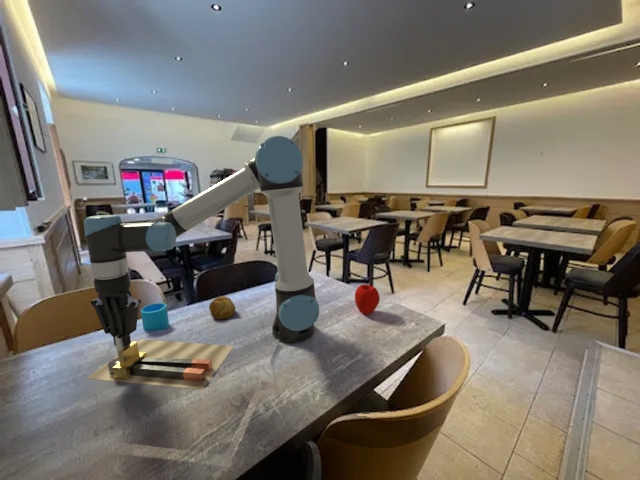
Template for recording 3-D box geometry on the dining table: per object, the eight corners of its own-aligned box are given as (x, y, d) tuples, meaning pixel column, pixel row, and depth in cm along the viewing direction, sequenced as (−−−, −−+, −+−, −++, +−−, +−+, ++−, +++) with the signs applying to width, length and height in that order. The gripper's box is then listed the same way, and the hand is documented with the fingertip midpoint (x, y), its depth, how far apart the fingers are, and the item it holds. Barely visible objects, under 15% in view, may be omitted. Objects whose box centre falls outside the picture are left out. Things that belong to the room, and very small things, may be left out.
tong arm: (212, 367, 78) (211, 359, 77) (209, 371, 76) (208, 363, 75) (134, 364, 79) (133, 356, 78) (129, 368, 77) (128, 360, 77)
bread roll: (211, 309, 117) (209, 291, 116) (234, 305, 120) (233, 288, 119) (209, 323, 105) (208, 304, 104) (236, 319, 108) (234, 300, 107)
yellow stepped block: (147, 361, 80) (144, 339, 78) (127, 379, 73) (123, 355, 71) (135, 360, 80) (131, 338, 79) (114, 377, 73) (109, 354, 72)
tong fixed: (210, 371, 76) (209, 363, 76) (201, 382, 72) (200, 374, 71) (118, 363, 79) (117, 355, 79) (105, 373, 75) (103, 365, 75)
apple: (382, 311, 115) (383, 283, 113) (373, 320, 107) (374, 291, 104) (360, 305, 120) (361, 279, 118) (350, 314, 112) (350, 286, 110)
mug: (166, 331, 99) (164, 311, 98) (140, 335, 97) (137, 314, 95) (172, 316, 110) (170, 297, 109) (149, 320, 108) (146, 300, 106)
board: (234, 350, 88) (234, 345, 88) (202, 394, 70) (202, 389, 69) (140, 343, 92) (140, 339, 92) (87, 383, 74) (86, 378, 73)
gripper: (145, 271, 74) (155, 349, 79) (101, 269, 75) (115, 346, 80) (122, 281, 67) (135, 366, 71) (74, 278, 68) (91, 362, 73)
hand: (124, 355), depth 76 cm, fingers closed
